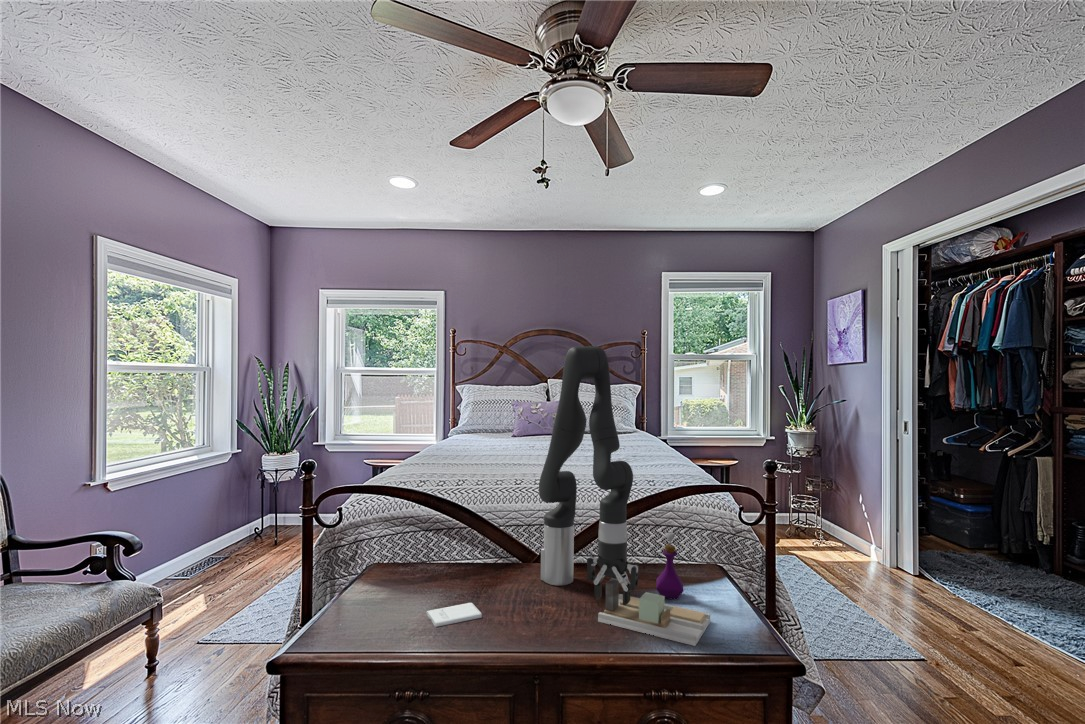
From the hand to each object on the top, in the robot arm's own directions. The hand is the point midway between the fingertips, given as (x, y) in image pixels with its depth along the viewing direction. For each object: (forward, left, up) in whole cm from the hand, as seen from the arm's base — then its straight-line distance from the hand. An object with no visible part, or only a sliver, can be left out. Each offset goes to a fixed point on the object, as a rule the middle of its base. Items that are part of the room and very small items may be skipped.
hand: (612, 601), depth 148 cm
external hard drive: (-36, -20, -5) cm, 42 cm away
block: (+11, 0, -2) cm, 11 cm away
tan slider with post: (+7, 0, -3) cm, 7 cm away
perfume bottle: (+9, +22, -4) cm, 24 cm away
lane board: (+10, +4, -4) cm, 12 cm away
